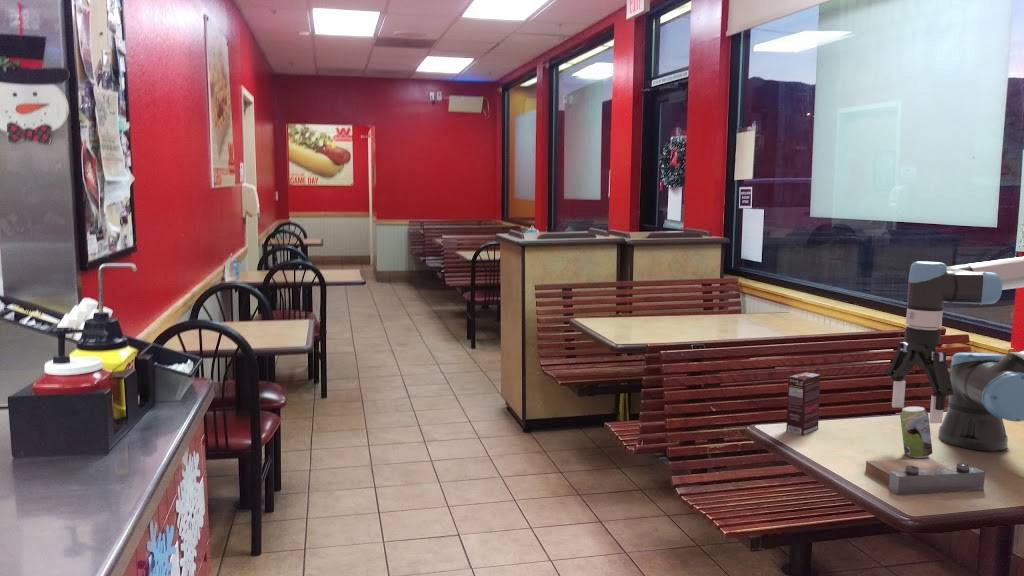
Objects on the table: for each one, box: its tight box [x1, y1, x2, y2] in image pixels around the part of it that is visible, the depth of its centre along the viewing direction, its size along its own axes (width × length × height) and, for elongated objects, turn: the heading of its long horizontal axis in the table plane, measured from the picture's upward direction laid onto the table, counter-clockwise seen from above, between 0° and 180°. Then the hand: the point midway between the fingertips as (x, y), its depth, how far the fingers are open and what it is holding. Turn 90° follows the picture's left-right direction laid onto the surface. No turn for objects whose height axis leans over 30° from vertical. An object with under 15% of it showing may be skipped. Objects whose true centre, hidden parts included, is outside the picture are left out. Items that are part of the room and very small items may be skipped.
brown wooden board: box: [865, 458, 950, 487], centre depth 171 cm, size 16×10×3 cm, turn 97°
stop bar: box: [888, 462, 986, 496], centre depth 164 cm, size 20×3×5 cm, turn 99°
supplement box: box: [785, 371, 821, 436], centre depth 202 cm, size 9×5×16 cm, turn 131°
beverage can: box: [899, 405, 933, 459], centre depth 185 cm, size 6×7×12 cm
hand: (916, 414), depth 185 cm, fingers open, 13 cm apart
